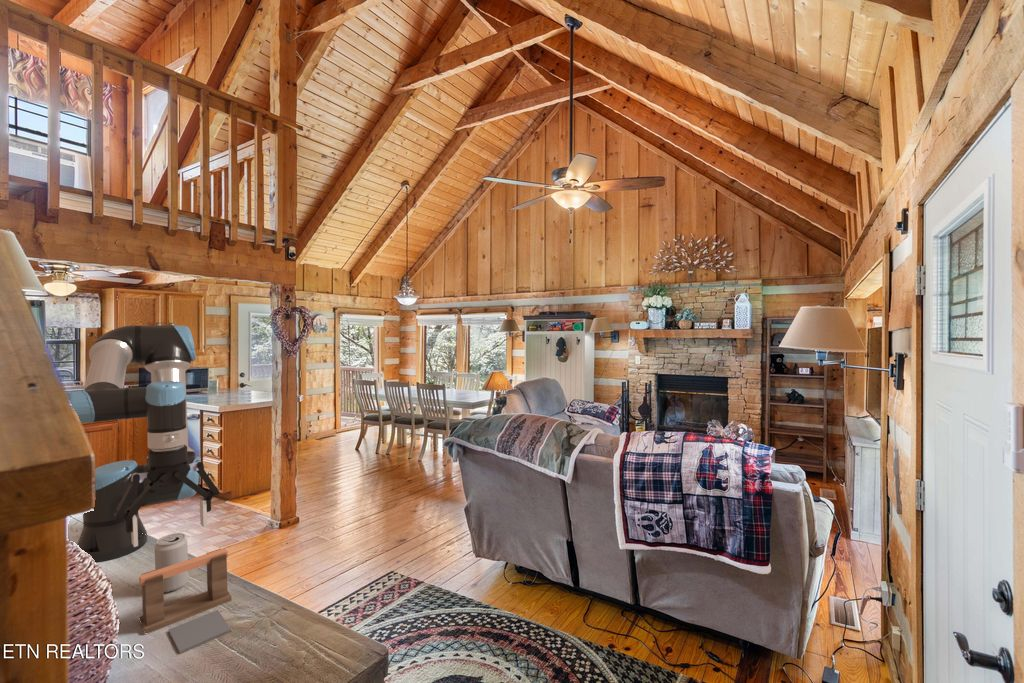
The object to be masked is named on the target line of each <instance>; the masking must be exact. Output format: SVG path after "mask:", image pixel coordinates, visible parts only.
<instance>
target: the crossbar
mask: <svg viewBox="0 0 1024 683" xmlns="http://www.w3.org/2000/svg"><path fill="white" fill-rule="evenodd" d="M219 549H220V550H218V549H216V550H217V551H215V550H213V551H214V552H212V551H210V552H211V553H209V552H207V553H208V554H206V553H205V554H202V555H199V556H196V557H192V558H190V559H189V558H188V560H186V561H183V562H180V563H177V564H174V565H171V566H168V567H165V568H161V569H158V570H155V569H154V570H155V571H153V570H151V571H152V572H150V571H148V572H149V573H147V572H145V573H146V574H143V573H142V574H143V575H141V574H140V575H138V576H139V578H138V579H139V584H140V586H141V587H142V586H144V585H145V580H147V579H150V578H153V577H156V576H159V575H163V579H165V578H168V577H171V576H174V575H177V574H180V573H183V572H186V571H188V572H189V571H192V570H195V569H197V568H200V567H203V566H207V564H209V563H211V558H214V557H217V556H220V555H223V554H226V555H227V558H229V557H228V556H229V554H228V552H229V550H227V549H226V548H225V547H224V548H219Z"/></svg>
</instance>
